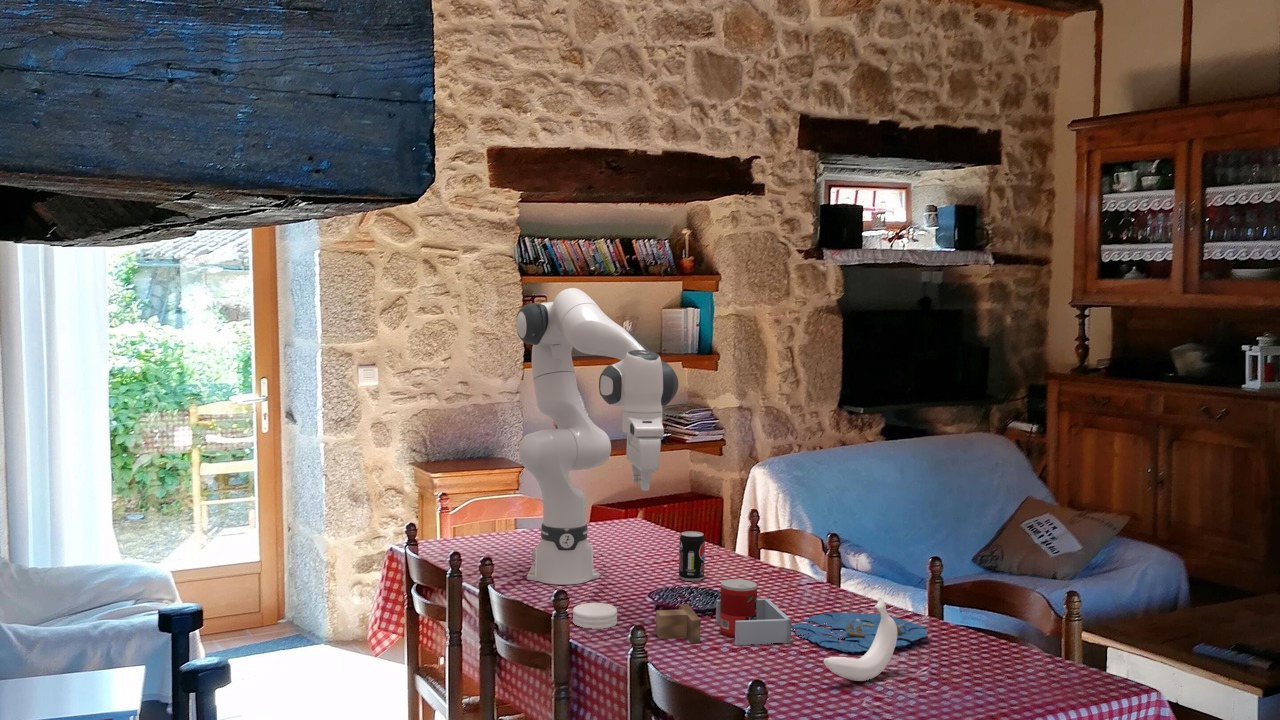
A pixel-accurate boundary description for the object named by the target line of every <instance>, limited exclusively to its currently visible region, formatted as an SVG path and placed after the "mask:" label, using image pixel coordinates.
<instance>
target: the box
mask: <svg viewBox="0 0 1280 720" xmlns="http://www.w3.org/2000/svg"><path fill="white" fill-rule="evenodd" d="M715 608H716V609H715V622H716V623H717V624H720V599H716V605H715ZM767 643H768V644H767ZM771 643H772V644H771ZM773 643H788V644H792V619H791V618H790V617H789V616H787V615H786V614H785V613H784V612H783V611H782V610H781V609H780V608H779V607H778V606H777V605H776V604H775V603H773V602H772V601H771V600H770V599H769V598H757V616H756V620H740V621H735V638H734V645H735V646H752V645H751V644H762V645H774V644H773Z"/></svg>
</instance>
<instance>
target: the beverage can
mask: <svg viewBox="0 0 1280 720" xmlns="http://www.w3.org/2000/svg"><path fill="white" fill-rule="evenodd" d="M704 536H705V535H704V533H703V532H700V531H693V530H692V531H691V530H690V531H688V530H687V531H683V532H681V533H680V537H679V546H678V547H679V552H678V553H679V554H678V555H679V556H678V577H679V578H680V579H682V580H681V581H683V580H685V581H684V582H687V581H692V582H693V583H695V582H696V581H698V582H701V581H702V579H704V578H705V561H706V560H705V559H706V558H705V556H706V555H705V554H706V553H705V552H706V551H705V550H706V538H705V537H704ZM694 581H695V582H694ZM692 582H691V583H692Z"/></svg>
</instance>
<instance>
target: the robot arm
mask: <svg viewBox="0 0 1280 720" xmlns="http://www.w3.org/2000/svg"><path fill="white" fill-rule="evenodd" d="M515 323H516V325H515V326H516V327H515V328H516V332H517V335H518V337H519V338H520V340H521V341H522V343H524V344H527V345H532V348H531V371H532V372H531V373H532V374H531V375H532V381H533V388H534V394H535V401H536V406H537V408H538V410H539V411H540V413H542V414H543V415H545V416H546V417H549V418H550V419H551V420H552V421H553V422H554V423H555V425H556V426H557V428H551V429H550V428H549V429H541V430H536V431H533V432H530V433H527V434H526V435H524V436H523V438H522V439H521V441H520V443H519V446H518V457H519V460H520V463H521V464H522V467H524V469H525V470H527V471H528V472H529V473H530V474H531V475H533V477H534V478H535V479H536V481H537V483H538V485H539V488H540V492H541V496H542V517H543V518H542V523H541V526H540V527H541V528H540V538H541V540H540V542H539V543H538V544H537V545H536V547H535V549H532V551H531V552H532V553H531V554H532V555H531V559H532V560H533V559H534V560H533V563H532V564H531V567H530V569H529V571H528V573H527V575H526V580H529V581H537V582H540V583H543V584H548V585H565V586H566V585H579V584H582V583H586V582H589V581H592V580H595V579H599V578H600V577H601V576H600V575H601V574H600V572H598V571H597V570H596V569H594V547H593V545H592V544H591V543H590V542H589V541H588V533H589V530H588V524H587V497H586V494H585V492H584V491H583V490H582V488H580V487H578V486H576V485H575V484H572V481H571V479H570V471H580V470H590V469H594V468H596V467H599V466H602V465H604V464H606V463H607V462H608V460H609V458H610V456H611V453H612V444H611V439H610V437H609V435H608V433H606V431H605V430H604V429H601V428H600V427H598V425H596V424H595V422H594V421H592V420H591V418H590V417H589V415H588V413H587V412H586V410H585V409H584V406H583V403H582V401H581V397H580V392H579V389H578V382H577V377H576V372H575V367H574V362H573V357H572V356H573V355H572V351H573V349H575V350H577V351H578V352H580V353H582V354H586V355H593V356H595V355H596V356H601V357H609V358H613V359H617V360H620V361H618V362H615V363H612V364H609V365H607V366H606V367H605V368H604V369H603V370H602V372H601V374H600V376H599V380H598V389H599V395H600V396H601V398H602V399H603V400H604V401H605V402H606V404H608V405H611V406H616V407H619V406H621V407H622V425H621V427H622V428H621V429H622V433H625V434H626V435H627V436H626V437H627V438H626V450H625V451H626V459H627V461H629V462H630V463H631V470H632V482H633V483H634V484H640V487H639V488H640V490H641V491H643V492H649V491H650V488H651V487H650V486H651V480H652V475H653V474H652V473H657V472H658V470H659V467H660V466H659V465H660V459H661V447H662V445H661V444H662V440H661V438H663V437H664V434H665V433H664V431H665V429H664V425H663V416H664V415H663V407H666V406H667V405H668V404H670V403H671V402H672V401H673V399H674V398H675V397H676V395H677V393H678V390H679V378H678V376H677V375H678V374H677V373H676V372H675V370H674V369H673V367H672V366H671V365H669V363H667V362H666V361H662V359H661V356H660V354H658V353H656V352H654V351H651V350H650V349H649V348H647V346H646V345H644V343H643V342H642V341H641V340H639V339H638V337H636V336H635V335H634V334H633V333H632V332H630V331H629V330H627V329H626V328H624V327H623V326H621V325H619V324H618V323H616V322H615V321H614V320H613V319H611V318H610V317H609V316H607V314H606V313H604V312H603V311H602V309H601V308H600V306H599V305H598V304H597V303H596V302H595V301H594V299H593V298H591V297H590V296H589V295H588V294H587V293H586V292H584V291H583V290H581V289H579V288H576V287H570V288H565V289H563V290H561V291H560V292H559V293H557V294H556V296H555V297H554V300H553V301H547V302H541V303H538V302H537V303H536V302H533V303H532V302H531V303H528V304H525V305H523V306H522V307H521V308H520V309H519V310H518V312H517V314H516V320H515Z"/></svg>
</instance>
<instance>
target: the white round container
mask: <svg viewBox="0 0 1280 720" xmlns="http://www.w3.org/2000/svg"><path fill="white" fill-rule="evenodd" d="M572 613H573V615H572V617H573V618H572V622H573V623H574V624H575V625H577V626H580V627H583V628H582V629H584V628H592V629H591V630H604V629H603V628H606V629H611V628H612V627H615V626H616V625H617V624H618V619H617V618H618V609H617V608H616V606H614V605H612V604H609V603H605V602H604V603H603V602H587V603H580V604H578V605H576V606H574V607H573V609H572ZM573 623H572V624H573ZM574 624H573V625H574ZM575 625H574V626H575ZM577 626H576V627H577ZM580 627H579V628H580ZM610 627H611V628H610ZM600 628H601V629H600Z"/></svg>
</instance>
